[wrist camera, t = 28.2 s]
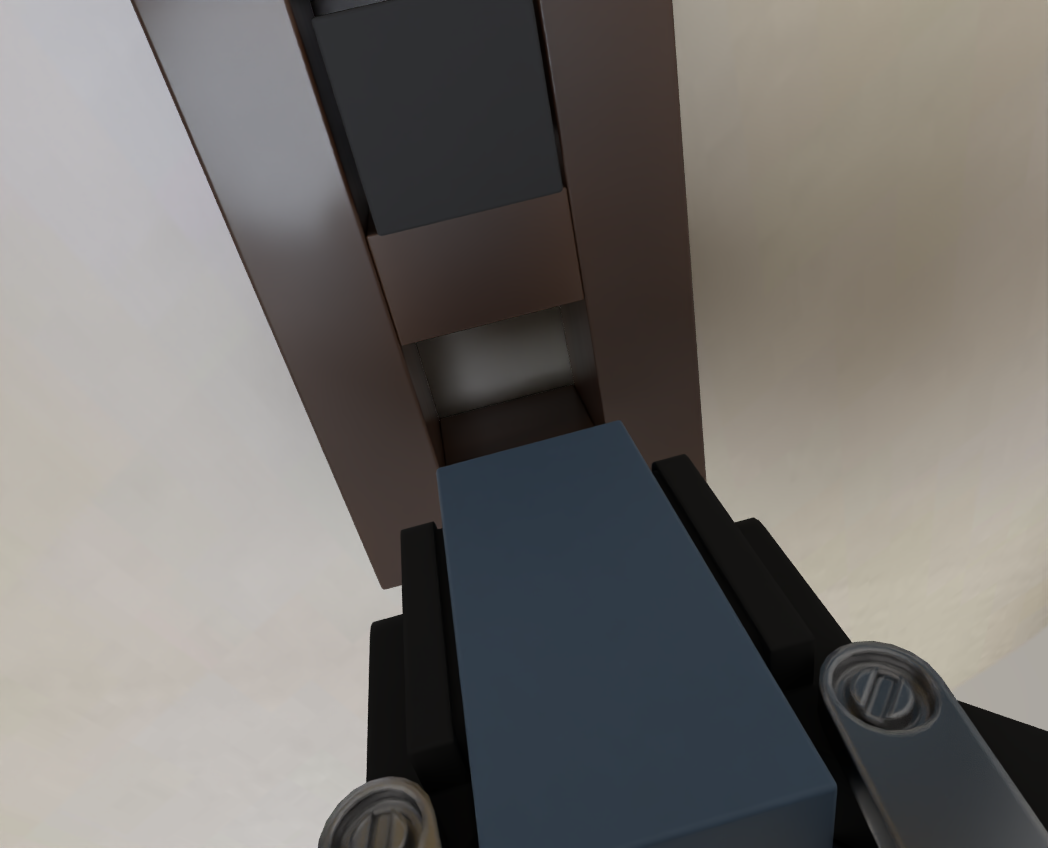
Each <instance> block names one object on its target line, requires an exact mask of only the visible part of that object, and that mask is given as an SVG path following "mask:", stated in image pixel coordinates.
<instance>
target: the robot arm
mask: <svg viewBox="0 0 1048 848" xmlns="http://www.w3.org/2000/svg"><path fill="white" fill-rule="evenodd" d="M651 470H652V473H653V475H654V477H655V479H656V480H657V482H658V484H659V485H660V487H661V489H662V490H663V492H664V494H665V495H666V497H667V499H668V500H669V502H670V504H671V506H672V507H673V509H674V511H675V512H676V514H677V516H678V517H679V519H680V521H681V522H682V524H683V526H684V527H685V529H686V531H687V532H688V534H689V536H690V538H691V539H692V541H693V543H694V544H695V546H696V548H697V549H698V551H699V553H700V554H701V556H702V558H703V559H704V561H705V563H706V564H707V566H708V568H709V570H710V571H711V573H712V575H713V576H714V578H715V580H716V581H717V583H718V585H719V586H720V588H721V590H722V591H723V593H724V595H725V597H726V598H727V600H728V602H729V603H730V605H731V607H732V608H733V610H734V612H735V613H736V615H737V617H738V618H739V620H740V622H741V623H742V625H743V627H744V629H745V630H746V632H747V634H748V635H749V637H750V639H751V640H752V642H753V644H754V645H755V647H756V649H757V650H758V652H759V654H760V656H761V657H762V659H763V661H764V662H765V664H766V666H767V667H768V669H769V671H770V672H771V674H772V676H773V677H774V679H775V681H776V682H777V684H778V686H779V688H780V689H781V691H782V693H783V694H784V696H785V698H786V699H787V701H788V703H789V704H790V706H791V708H792V709H793V711H794V713H795V714H796V716H797V718H798V720H799V721H800V723H801V725H802V726H803V728H804V730H805V731H806V733H807V735H808V736H809V738H810V740H811V741H812V743H813V745H814V747H815V748H816V750H817V752H818V753H819V755H820V757H821V758H822V760H823V762H824V763H825V765H826V767H827V768H828V770H829V772H830V773H831V775H832V777H833V779H834V780H835V782H836V784H837V799H836V810H835V822H834V834H833V846H832V848H1048V731H1045V730H1042V729H1039V728H1036V727H1034V726H1031V725H1028V724H1025V723H1022V722H1019V721H1016V720H1013V719H1010V718H1007V717H1004V716H1001V715H999V714H995V713H993V712H990V711H987V710H984V709H981V708H978V707H975V706H972V705H970V704H967V703H964V702H961V701H958V700H956V698H955V697H954V695H953V694H952V692H951V691H950V689H949V688H948V687H947V685H946V684H945V682H944V681H943V679H942V678H941V677H940V676H939V675H938V673H937V672H936V671H935V670H934V669H933V668H932V667H931V666H930V665H929V664H928V663H927V662H925V661H924V660H922V659H921V658H919V657H918V656H917V655H915V654H914V653H912V652H910V651H907V650H905V649H902V648H900V647H898V646H895V645H892V644H887V643H881V642H876V641H864V642H853V643H852V642H851V641H850V639H849V638H848V637H847V635H846V634H845V633H844V631H843V630H842V629H841V627H840V626H839V625H838V623H837V622H836V621H835V619H834V618H833V617H832V615H831V614H830V613H829V611H828V610H827V609H826V607H825V606H824V605H823V604H822V602H821V601H820V600H819V598H818V597H817V596H816V594H815V593H814V592H813V590H812V589H811V588H810V586H809V585H808V584H807V582H806V581H805V580H804V578H803V577H802V576H801V574H800V573H799V572H798V570H797V569H796V568H795V566H794V565H793V564H792V562H791V561H790V560H789V558H788V557H787V556H786V554H785V553H784V552H783V551H782V549H781V548H780V547H779V545H778V544H777V543H776V541H775V540H774V539H773V537H772V536H771V535H770V533H769V532H768V531H767V529H766V528H765V527H764V526H763V524H762V523H761V522H760V521H759V520H757V519H755V518H750V519H746V520H743V521H739V522H735V523H734V521H733V520H732V518H731V517H730V515H729V514H728V513H727V511H726V510H725V508H724V507H723V505H722V504H721V503H720V501H719V500H718V498H717V497H716V495H715V494H714V493H713V491H712V490H711V488H710V487H709V485H708V484H707V483H706V481H705V480H704V478H703V477H702V476H701V474H700V473H699V471H698V470H697V468H696V467H695V466H694V464H693V463H692V461H691V460H690V458H689V457H688V456H687V455H686V454H681V455H678V456H674V457H670V458H666V459H663V460H659V461H655V462H653V463H652V466H651ZM400 540H401V573H402V607H403V614H401V615H397V616H394V617H390V618H387V619H383V620H379V621H376V622H373V623H372V625H371V630H370V656H369V696H368V736H367V777H366V783H365V784H363V785H362V786H360V787H358V788H356V789H354V790H353V791H352V792H351V793H350V794H349V795H348V796H346V797H345V798H344V799H343V800H342V801H341V802H340V803H339V804H338V805H337V807H336V808H335V809H334V811H333V812H332V814H331V815H330V817H329V818H328V819H327V821H326V823H325V826H324V828H323V831H322V833H321V836H320V839H319V843H318V848H479V842H478V833H477V824H476V815H475V807H474V798H473V789H472V781H471V772H470V763H469V754H468V746H467V737H466V728H465V720H464V711H463V702H462V693H461V685H460V676H459V667H458V659H457V650H456V641H455V632H454V624H453V615H452V606H451V597H450V589H449V580H448V571H447V563H446V554H445V545H444V536H443V528H441V529H437V526H436V524H435V522H434V521H433V522H429V523H425V524H421V525H418V526H414V527H410V528H407V529H403V530H401V534H400Z"/></svg>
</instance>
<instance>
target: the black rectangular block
mask: <svg viewBox="0 0 1048 848" xmlns="http://www.w3.org/2000/svg"><path fill="white" fill-rule="evenodd" d="M312 26H313V29H314V32H315V35H316V39H317V42H318V45H319V48H320V51H321V55H322V58H323V61H324V64H325V67H326V71H327V74H328V77H329V80H330V83H331V87H332V90H333V93H334V96H335V99H336V103H337V106H338V109H339V112H340V115H341V119H342V122H343V125H344V128H345V131H346V135H347V138H348V141H349V144H350V147H351V151H352V154H353V157H354V160H355V164H356V167H357V170H358V173H359V176H360V180H361V183H362V186H363V189H364V192H365V196H366V199H367V202H368V205H369V208H370V212H371V215H372V218H373V221H374V224H375V228H376V231H377V234H378V235H379V236H385V235H389V234H393V233H397V232H401V231H405V230H409V229H413V228H417V227H421V226H425V225H429V224H434V223H438V222H442V221H446V220H450V219H454V218H458V217H462V216H466V215H470V214H474V213H478V212H482V211H486V210H490V209H494V208H499V207H503V206H507V205H511V204H515V203H519V202H523V201H527V200H531V199H535V198H539V197H543V196H547V195H551V194H555V193H559V192H561V191H562V190H563V185H562V179H561V173H560V167H559V160H558V154H557V148H556V142H555V136H554V130H553V123H552V117H551V111H550V105H549V99H548V93H547V86H546V80H545V74H544V68H543V62H542V56H541V49H540V43H539V37H538V31H537V25H536V19H535V12H534V6H533V0H387V1H383V2H378V3H374V4H370V5H366V6H361V7H357V8H353V9H348V10H344V11H340V12H335V13H331V14H327V15H322V16H318V17H314V18H313V19H312Z"/></svg>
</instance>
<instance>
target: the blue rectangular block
mask: <svg viewBox="0 0 1048 848" xmlns="http://www.w3.org/2000/svg"><path fill="white" fill-rule="evenodd" d="M436 475H437V484H438V493H439V502H440V510H441V519H442V528H443V536H444V545H445V554H446V563H447V571H448V580H449V589H450V597H451V606H452V615H453V624H454V632H455V641H456V650H457V659H458V667H459V676H460V685H461V693H462V702H463V711H464V720H465V728H466V737H467V746H468V754H469V763H470V772H471V781H472V789H473V798H474V807H475V815H476V824H477V833H478V842H479V848H832V846H833V834H834V822H835V810H836V799H837V784H836V782H835V780H834V779H833V777H832V775H831V773H830V772H829V770H828V768H827V767H826V765H825V763H824V762H823V760H822V758H821V757H820V755H819V753H818V752H817V750H816V748H815V747H814V745H813V743H812V741H811V740H810V738H809V736H808V735H807V733H806V731H805V730H804V728H803V726H802V725H801V723H800V721H799V720H798V718H797V716H796V714H795V713H794V711H793V709H792V708H791V706H790V704H789V703H788V701H787V699H786V698H785V696H784V694H783V693H782V691H781V689H780V688H779V686H778V684H777V682H776V681H775V679H774V677H773V676H772V674H771V672H770V671H769V669H768V667H767V666H766V664H765V662H764V661H763V659H762V657H761V656H760V654H759V652H758V650H757V649H756V647H755V645H754V644H753V642H752V640H751V639H750V637H749V635H748V634H747V632H746V630H745V629H744V627H743V625H742V623H741V622H740V620H739V618H738V617H737V615H736V613H735V612H734V610H733V608H732V607H731V605H730V603H729V602H728V600H727V598H726V597H725V595H724V593H723V591H722V590H721V588H720V586H719V585H718V583H717V581H716V580H715V578H714V576H713V575H712V573H711V571H710V570H709V568H708V566H707V564H706V563H705V561H704V559H703V558H702V556H701V554H700V553H699V551H698V549H697V548H696V546H695V544H694V543H693V541H692V539H691V538H690V536H689V534H688V532H687V531H686V529H685V527H684V526H683V524H682V522H681V521H680V519H679V517H678V516H677V514H676V512H675V511H674V509H673V507H672V506H671V504H670V502H669V500H668V499H667V497H666V495H665V494H664V492H663V490H662V489H661V487H660V485H659V484H658V482H657V480H656V479H655V477H654V475H653V473H652V472H651V470H650V468H649V467H648V465H647V463H646V462H645V460H644V458H643V457H642V455H641V453H640V452H639V450H638V448H637V447H636V445H635V443H634V441H633V440H632V438H631V436H630V435H629V433H628V431H627V430H626V428H625V426H624V425H623V423H622V422H621V421H620V420H617V421H613V422H609V423H606V424H602V425H598V426H594V427H591V428H587V429H583V430H579V431H576V432H572V433H568V434H564V435H561V436H557V437H553V438H549V439H546V440H542V441H538V442H534V443H531V444H527V445H523V446H519V447H516V448H512V449H508V450H504V451H501V452H497V453H493V454H489V455H485V456H482V457H478V458H474V459H470V460H467V461H463V462H459V463H455V464H452V465H448V466H444V467H440V468H438V469H437V471H436Z"/></svg>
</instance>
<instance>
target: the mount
mask: <svg viewBox="0 0 1048 848" xmlns="http://www.w3.org/2000/svg"><path fill="white" fill-rule="evenodd" d="M311 1H313V0H311ZM131 3H132V5H133V7H134V10H135V12H136V15H137V17H138V19H139V22H140V24H141V26H142V29H143V31H144V33H145V36H146V38H147V40H148V43H149V45H150V47H151V50H152V52H153V54H154V57H155V59H156V61H157V64H158V66H159V68H160V71H161V73H162V75H163V78H164V80H165V82H166V85H167V87H168V89H169V92H170V94H171V96H172V99H173V101H174V103H175V106H176V108H177V110H178V113H179V115H180V117H181V120H182V122H183V124H184V127H185V129H186V132H187V134H188V136H189V139H190V141H191V143H192V146H193V148H194V150H195V153H196V155H197V157H198V160H199V162H200V164H201V167H202V169H203V171H204V174H205V176H206V178H207V181H208V183H209V185H210V188H211V190H212V192H213V195H214V197H215V199H216V202H217V204H218V206H219V209H220V211H221V213H222V216H223V218H224V220H225V223H226V225H227V227H228V230H229V232H230V234H231V237H232V239H233V241H234V244H235V246H236V249H237V251H238V253H239V256H240V258H241V260H242V263H243V265H244V267H245V270H246V272H247V274H248V277H249V279H250V281H251V284H252V286H253V288H254V291H255V293H256V295H257V298H258V300H259V302H260V305H261V307H262V309H263V312H264V314H265V316H266V319H267V321H268V323H269V326H270V328H271V330H272V333H273V335H274V337H275V340H276V342H277V344H278V347H279V349H280V351H281V354H282V356H283V358H284V361H285V363H286V366H287V368H288V370H289V373H290V375H291V377H292V380H293V382H294V384H295V387H296V389H297V391H298V394H299V396H300V398H301V401H302V403H303V405H304V408H305V410H306V412H307V415H308V417H309V419H310V422H311V424H312V426H313V429H314V431H315V433H316V436H317V438H318V440H319V443H320V445H321V447H322V450H323V452H324V454H325V457H326V459H327V461H328V464H329V466H330V468H331V471H332V473H333V475H334V478H335V480H336V482H337V485H338V487H339V490H340V492H341V494H342V497H343V499H344V501H345V504H346V506H347V508H348V511H349V513H350V515H351V518H352V520H353V522H354V525H355V527H356V529H357V532H358V534H359V536H360V539H361V541H362V543H363V546H364V548H365V550H366V553H367V555H368V557H369V560H370V562H371V564H372V567H373V569H374V571H375V574H376V576H377V578H378V581H379V583H380V585H381V587H382V589H389V588H393V587H396V586H400V585H402V573H401V540H400V534H401V530H403V529H407V528H410V527H414V526H418V525H421V524H425V523H429V522H433V521H434V522H435V524H436V526H437V529H441V528H442V519H441V510H440V502H439V493H438V484H437V475H436V471H437V469H438V468H440V467H444V466H448V465H452V464H455V463H459V462H463V461H467V460H470V459H474V458H478V457H482V456H485V455H489V454H493V453H497V452H501V451H504V450H508V449H512V448H516V447H519V446H523V445H527V444H531V443H534V442H538V441H542V440H546V439H549V438H553V437H557V436H561V435H564V434H568V433H572V432H576V431H579V430H583V429H587V428H591V427H594V426H598V425H602V424H606V423H609V422H613V421H617V420H620V421H621V422H622V423H623V425H624V426H625V428H626V430H627V431H628V433H629V435H630V436H631V438H632V440H633V441H634V443H635V445H636V447H637V448H638V450H639V452H640V453H641V455H642V457H643V458H644V460H645V462H646V463H647V465H648V467H649V468H650V470H651V466H652V463H653V462H655V461H659V460H663V459H666V458H670V457H674V456H678V455H681V454H686V455H687V456H688V457H689V458H690V460H691V461H692V463H693V464H694V466H695V467H696V468H697V470H698V471H699V473H700V474H701V476H702V477H703V478H704V480H705V481H706V470H705V456H704V442H703V428H702V414H701V400H700V385H699V371H698V357H697V343H696V329H695V315H694V301H693V286H692V272H691V258H690V244H689V230H688V216H687V202H686V187H685V173H684V159H683V145H682V131H681V117H680V103H679V89H678V74H677V60H676V46H675V32H674V18H673V4H672V0H533V6H534V12H535V19H536V25H537V31H538V37H539V43H540V49H541V56H542V62H543V68H544V74H545V80H546V86H547V93H548V99H549V105H550V111H551V117H552V123H553V130H554V136H555V142H556V148H557V154H558V160H559V167H560V173H561V179H562V185H563V190H562V191H561V192H559V193H555V194H551V195H547V196H543V197H539V198H535V199H531V200H527V201H523V202H519V203H515V204H511V205H507V206H503V207H499V208H494V209H490V210H486V211H482V212H478V213H474V214H470V215H466V216H462V217H458V218H454V219H450V220H446V221H442V222H438V223H434V224H429V225H425V226H421V227H417V228H413V229H409V230H405V231H401V232H397V233H393V234H389V235H385V236H379V235H378V234H377V231H376V228H375V224H374V221H373V218H372V215H371V212H370V208H369V205H368V202H367V199H366V196H365V192H364V189H363V186H362V183H361V180H360V176H359V173H358V170H357V167H356V164H355V160H354V157H353V154H352V151H351V147H350V144H349V141H348V138H347V135H346V131H345V128H344V125H343V122H342V119H341V115H340V112H339V109H338V106H337V103H336V99H335V96H334V93H333V90H332V87H331V83H330V80H329V77H328V74H327V71H326V67H325V64H324V61H323V58H322V55H321V51H320V48H319V45H318V42H317V39H316V35H315V32H314V29H313V26H312V19H313V18H314V17H315V16H314V13H313V10H312V7H311V3H310V0H131ZM556 306H560V310H561V316H562V321H563V327H564V332H565V338H566V343H567V349H568V354H569V360H570V365H571V371H572V376H573V382H574V385H568V386H564V387H560V388H556V389H553V390H549V391H545V392H541V393H537V394H533V395H530V396H526V397H522V398H518V399H514V400H510V401H506V402H503V403H499V404H495V405H491V406H487V407H483V408H480V409H476V410H472V411H468V412H464V413H460V414H456V415H453V416H449V417H445V418H441V419H440V420H439V417H438V414H437V411H436V407H435V404H434V401H433V398H432V394H431V391H430V388H429V385H428V382H427V378H426V375H425V372H424V369H423V365H422V362H421V359H420V356H419V352H418V349H417V346H416V343H415V342H419V341H423V340H427V339H431V338H435V337H438V336H442V335H446V334H450V333H454V332H458V331H462V330H466V329H470V328H474V327H478V326H482V325H486V324H490V323H493V322H497V321H501V320H505V319H509V318H513V317H517V316H521V315H525V314H529V313H533V312H537V311H541V310H545V309H548V308H552V307H556ZM651 472H652V470H651Z"/></svg>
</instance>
